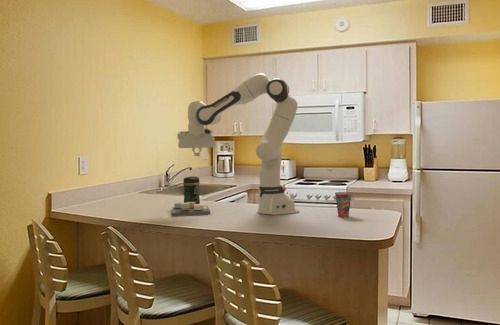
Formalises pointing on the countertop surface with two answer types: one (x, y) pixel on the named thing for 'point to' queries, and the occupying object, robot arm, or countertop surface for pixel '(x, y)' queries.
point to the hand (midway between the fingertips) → (197, 156)
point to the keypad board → (190, 211)
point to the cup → (343, 203)
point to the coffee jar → (191, 189)
